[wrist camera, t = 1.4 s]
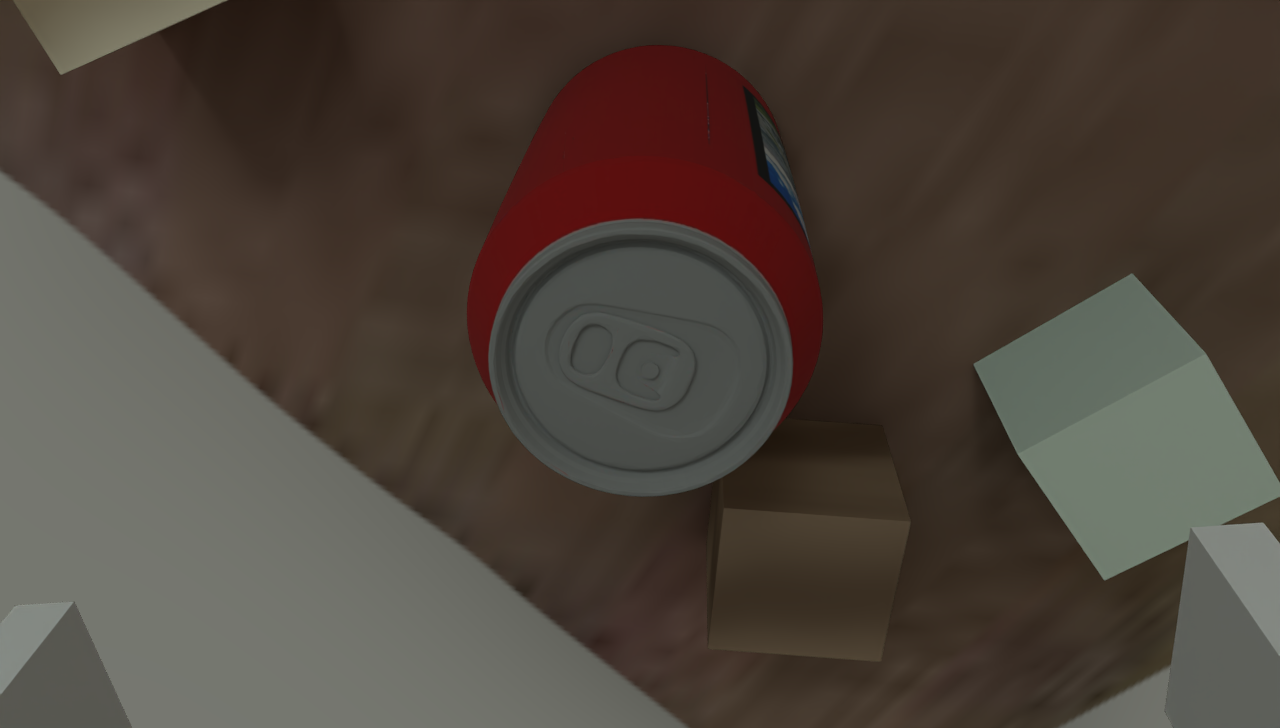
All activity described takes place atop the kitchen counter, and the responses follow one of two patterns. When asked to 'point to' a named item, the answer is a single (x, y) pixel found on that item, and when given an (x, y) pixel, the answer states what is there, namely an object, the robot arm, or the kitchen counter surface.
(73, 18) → the cube beech
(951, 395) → the kitchen counter surface
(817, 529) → the cube walnut
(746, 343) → the beverage can
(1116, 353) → the cube sage
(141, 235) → the kitchen counter surface
